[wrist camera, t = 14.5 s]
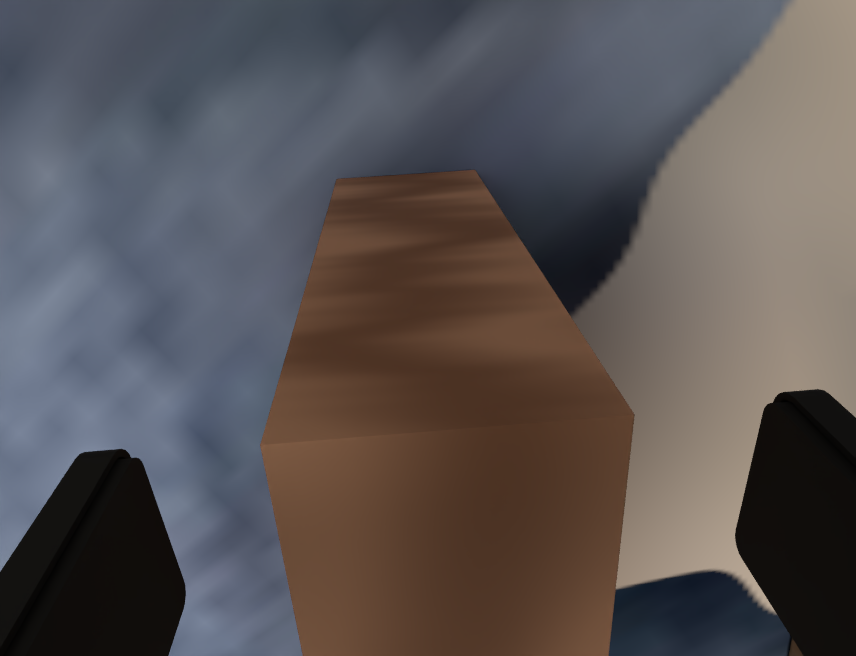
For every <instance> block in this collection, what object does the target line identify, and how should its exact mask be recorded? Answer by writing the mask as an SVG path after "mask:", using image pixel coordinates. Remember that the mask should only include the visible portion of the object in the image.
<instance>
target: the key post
mask: <svg viewBox="0 0 856 656" xmlns="http://www.w3.org/2000/svg"><path fill="white" fill-rule="evenodd" d="M633 424H634V413H633V412H632V410H631V409H630V407H629V406H628V404H627V403H626V401H625V399H624V398H623V396H622V395H621V393H620V392H619V390H618V389H617V387H616V386H615V384H614V382H613V381H612V379H611V378H610V377H609V375H608V373H607V372H606V370H605V369H604V367H603V366H602V364H601V363H600V361H599V359H598V358H597V356H596V355H595V353H594V352H593V350H592V349H591V347H590V346H589V344H588V343H587V341H586V340H585V338H584V337H583V335H582V333H581V332H580V330H579V329H578V327H577V326H576V324H575V323H574V321H573V320H572V318H571V316H570V315H569V313H568V312H567V310H566V309H565V307H564V306H563V304H562V303H561V301H560V300H559V298H558V297H557V295H556V293H555V292H554V290H553V289H552V287H551V286H550V284H549V283H548V281H547V280H546V278H545V277H544V275H543V274H542V272H541V270H540V269H539V267H538V266H537V264H536V263H535V261H534V260H533V258H532V257H531V255H530V254H529V252H528V250H527V249H526V247H525V246H524V244H523V243H522V241H521V240H520V238H519V237H518V235H517V234H516V232H515V231H514V229H513V227H512V226H511V224H510V223H509V221H508V220H507V218H506V217H505V215H504V214H503V212H502V211H501V209H500V208H499V206H498V204H497V203H496V201H495V200H494V198H493V197H492V195H491V194H490V192H489V191H488V189H487V188H486V186H485V184H484V183H483V181H482V180H481V178H480V177H479V175H478V174H477V172H476V171H475V170H465V171H450V172H435V173H420V174H404V175H389V176H374V177H358V178H343V179H337V180H336V183H335V187H334V190H333V194H332V197H331V200H330V204H329V207H328V211H327V214H326V218H325V221H324V225H323V228H322V232H321V235H320V239H319V242H318V246H317V249H316V253H315V256H314V260H313V263H312V267H311V270H310V274H309V277H308V281H307V284H306V288H305V291H304V295H303V298H302V302H301V305H300V309H299V312H298V315H297V319H296V322H295V326H294V329H293V333H292V336H291V340H290V343H289V347H288V350H287V354H286V357H285V361H284V364H283V368H282V371H281V375H280V378H279V382H278V385H277V389H276V392H275V396H274V399H273V403H272V406H271V410H270V413H269V417H268V420H267V423H266V427H265V430H264V434H263V437H262V441H261V444H260V446H261V451H262V456H263V461H264V466H265V471H266V476H267V481H268V486H269V491H270V495H271V500H272V505H273V510H274V515H275V520H276V525H277V530H278V535H279V540H280V545H281V550H282V555H283V560H284V565H285V570H286V574H287V579H288V584H289V589H290V594H291V599H292V604H293V609H294V614H295V619H296V624H297V629H298V634H299V639H300V644H301V649H302V653H303V656H608V653H609V644H610V635H611V626H612V617H613V607H614V598H615V589H616V580H617V571H618V561H619V551H620V543H621V534H622V524H623V515H624V506H625V497H626V488H627V478H628V469H629V460H630V451H631V442H632V432H633Z"/></svg>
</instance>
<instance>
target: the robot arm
mask: <svg viewBox="0 0 856 656" xmlns="http://www.w3.org/2000/svg"><path fill="white" fill-rule="evenodd" d="M735 539H736V545H737V548H738V551H739V554H740V556H741V558H742V559H743V561H744V563H745V564H746V566H747V567H748V569H749V570H750V572H751V574H752V575H753V577H754V578H755V580H756V582H757V583H758V585H759V586H760V588H761V589H762V591H763V593H764V594H765V596H766V597H767V599H768V601H769V602H770V604H771V605H772V607H773V608H774V610H775V612H776V613H777V615H778V616H779V618H780V620H781V621H782V623H783V624H784V626H785V628H786V629H787V631H788V632H789V634H790V635H791V637H792V639H793V640H794V642H795V643H796V645H797V647H798V648H799V650H800V651H801V653H802V654H803V656H856V418H855V417H854V416H853V415H852V414H851V413H850V412H849V411H848V410H846V409H845V408H844V407H843V406H842V405H841V404H840V403H839V402H838V401H837V400H835V399H834V398H833V397H832V396H831V395H830V394H829V393H827V392H825V391H824V390H819V389H817V390H804V391H793V392H783V393H780V394H778V395H777V397H775V399H774V402H773V403H770V404H767V406H766V407H765V408H764V411H763V415H762V419H761V424H760V428H759V433H758V437H757V441H756V445H755V450H754V454H753V458H752V462H751V467H750V471H749V475H748V480H747V484H746V488H745V493H744V497H743V502H742V506H741V510H740V514H739V519H738V523H737V527H736V533H735ZM185 596H186V590H185V583H184V579H183V577H182V574H181V571H180V568H179V565H178V562H177V560H176V557H175V554H174V551H173V548H172V545H171V542H170V540H169V537H168V534H167V531H166V528H165V525H164V522H163V520H162V517H161V514H160V511H159V508H158V505H157V502H156V500H155V497H154V494H153V491H152V488H151V485H150V482H149V480H148V477H147V474H146V471H145V468H144V465H143V463H142V461H141V460H140V459H139V458H131V457H130V455H129V453H128V452H127V451H126V450H123V449H116V450H104V451H93V452H84V453H81V454H79V456H78V457H77V458H76V459H75V460H74V462H73V463H72V465H71V466H70V468H69V469H68V471H67V472H66V474H65V475H64V477H63V478H62V480H61V481H60V483H59V484H58V486H57V487H56V489H55V490H54V492H53V493H52V495H51V496H50V498H49V499H48V501H47V502H46V504H45V505H44V507H43V508H42V510H41V511H40V513H39V514H38V516H37V517H36V519H35V520H34V522H33V523H32V525H31V526H30V528H29V529H28V531H27V533H26V534H25V536H24V537H23V539H22V540H21V542H20V543H19V545H18V546H17V548H16V549H15V551H14V552H13V554H12V555H11V557H10V558H9V560H8V561H7V563H6V564H5V566H4V567H3V569H2V570H1V572H0V656H168V655H169V652H170V649H171V646H172V643H173V639H174V636H175V633H176V630H177V627H178V624H179V621H180V618H181V615H182V612H183V609H184V605H185Z"/></svg>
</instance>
